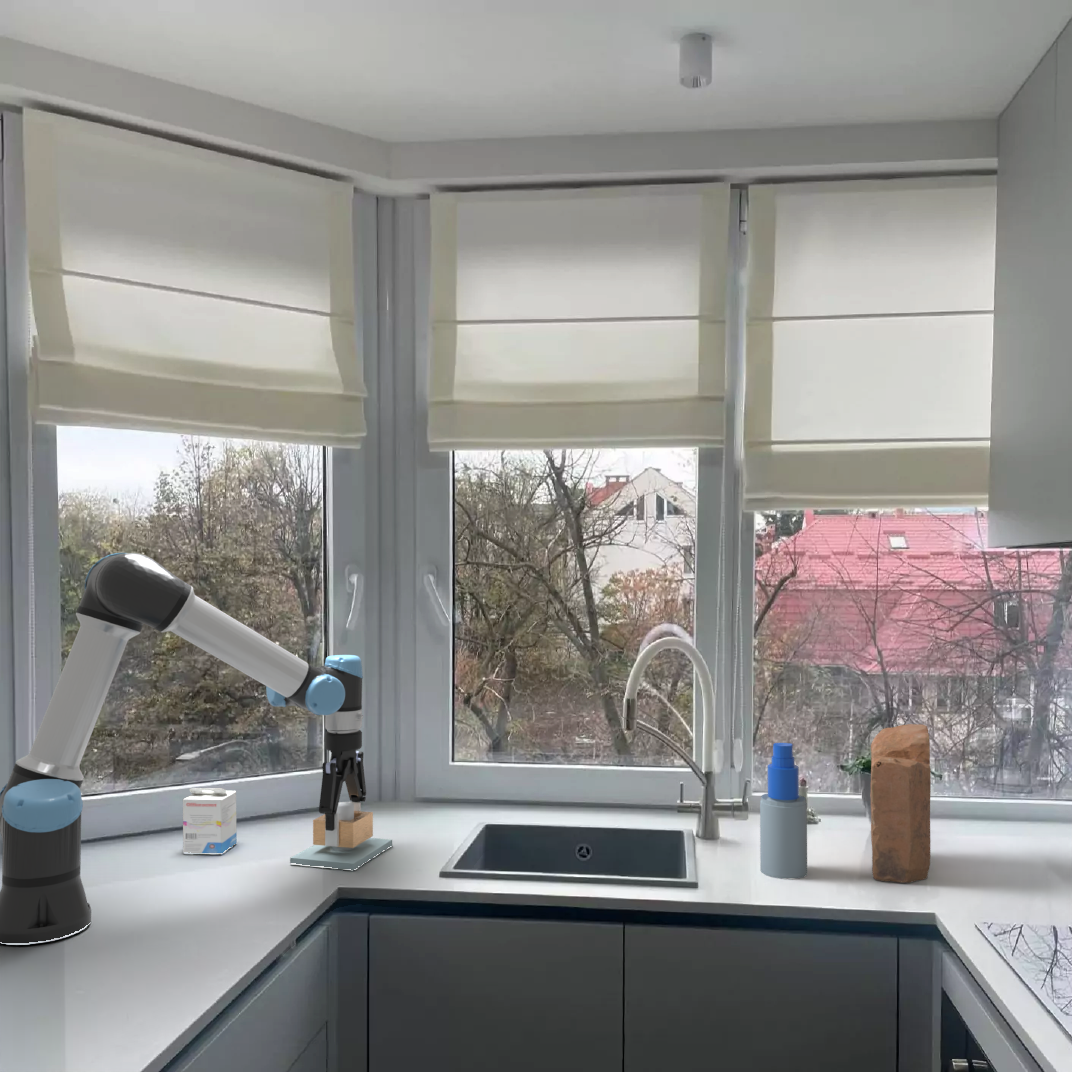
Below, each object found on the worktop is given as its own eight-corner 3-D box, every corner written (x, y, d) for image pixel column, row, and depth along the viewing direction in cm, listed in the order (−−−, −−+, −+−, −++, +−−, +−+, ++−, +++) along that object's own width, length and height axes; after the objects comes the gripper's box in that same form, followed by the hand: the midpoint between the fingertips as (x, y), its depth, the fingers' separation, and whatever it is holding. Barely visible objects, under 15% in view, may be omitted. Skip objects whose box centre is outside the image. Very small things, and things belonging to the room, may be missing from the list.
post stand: (353, 871, 195) (353, 817, 195) (290, 865, 199) (290, 812, 199) (392, 846, 212) (392, 797, 212) (333, 841, 216) (333, 792, 216)
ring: (353, 848, 200) (353, 823, 200) (313, 844, 203) (313, 820, 203) (372, 836, 209) (372, 812, 209) (334, 833, 211) (334, 809, 211)
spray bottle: (805, 866, 198) (804, 740, 199) (808, 880, 190) (807, 748, 190) (760, 863, 200) (759, 739, 201) (761, 877, 191) (760, 746, 192)
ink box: (237, 844, 214) (238, 782, 214) (221, 856, 205) (222, 790, 206) (199, 843, 214) (199, 781, 215) (181, 855, 206) (182, 790, 207)
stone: (935, 888, 184) (933, 735, 186) (871, 882, 188) (869, 732, 190) (928, 860, 205) (926, 722, 207) (870, 855, 208) (869, 720, 210)
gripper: (334, 739, 195) (334, 855, 194) (382, 722, 216) (382, 827, 215) (300, 737, 197) (300, 852, 196) (351, 721, 218) (351, 824, 217)
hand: (343, 839), depth 206 cm, fingers closed on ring, 9 cm apart
